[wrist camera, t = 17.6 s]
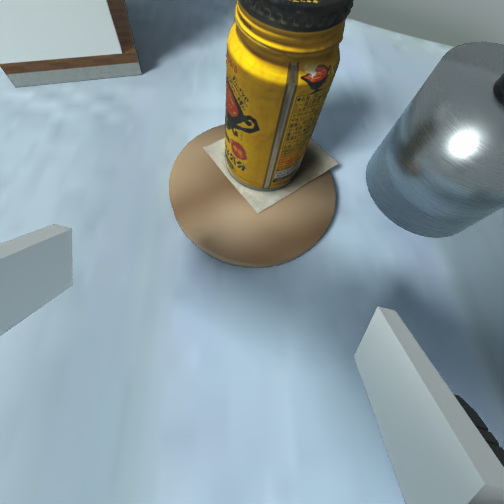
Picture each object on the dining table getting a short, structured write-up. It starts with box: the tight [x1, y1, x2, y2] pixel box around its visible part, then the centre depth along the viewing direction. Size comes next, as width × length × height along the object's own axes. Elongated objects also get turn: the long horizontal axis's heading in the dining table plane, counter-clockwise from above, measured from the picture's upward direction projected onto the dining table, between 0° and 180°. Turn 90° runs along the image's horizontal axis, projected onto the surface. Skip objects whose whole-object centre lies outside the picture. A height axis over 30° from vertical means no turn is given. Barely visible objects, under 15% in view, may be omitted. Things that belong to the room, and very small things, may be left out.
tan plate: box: [169, 124, 336, 268], centre depth 23 cm, size 13×13×1 cm
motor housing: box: [366, 42, 504, 238], centre depth 20 cm, size 10×10×10 cm
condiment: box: [203, 0, 353, 214], centre depth 18 cm, size 7×8×12 cm
